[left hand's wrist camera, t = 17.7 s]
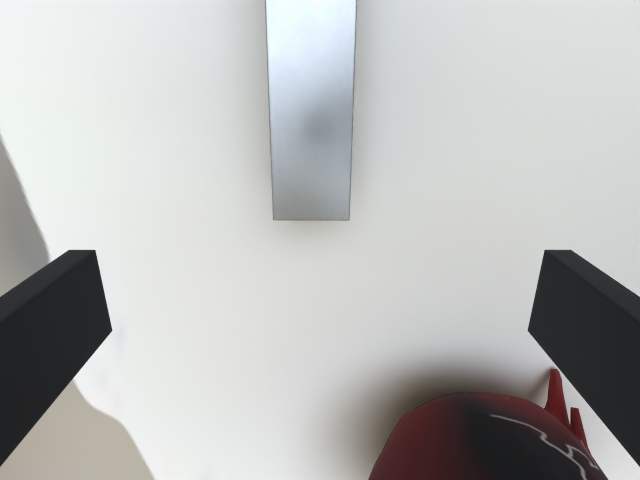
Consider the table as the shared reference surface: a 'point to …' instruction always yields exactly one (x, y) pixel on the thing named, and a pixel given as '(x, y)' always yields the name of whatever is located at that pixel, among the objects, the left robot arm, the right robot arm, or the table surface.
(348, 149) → the bar
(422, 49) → the table surface
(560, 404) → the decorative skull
